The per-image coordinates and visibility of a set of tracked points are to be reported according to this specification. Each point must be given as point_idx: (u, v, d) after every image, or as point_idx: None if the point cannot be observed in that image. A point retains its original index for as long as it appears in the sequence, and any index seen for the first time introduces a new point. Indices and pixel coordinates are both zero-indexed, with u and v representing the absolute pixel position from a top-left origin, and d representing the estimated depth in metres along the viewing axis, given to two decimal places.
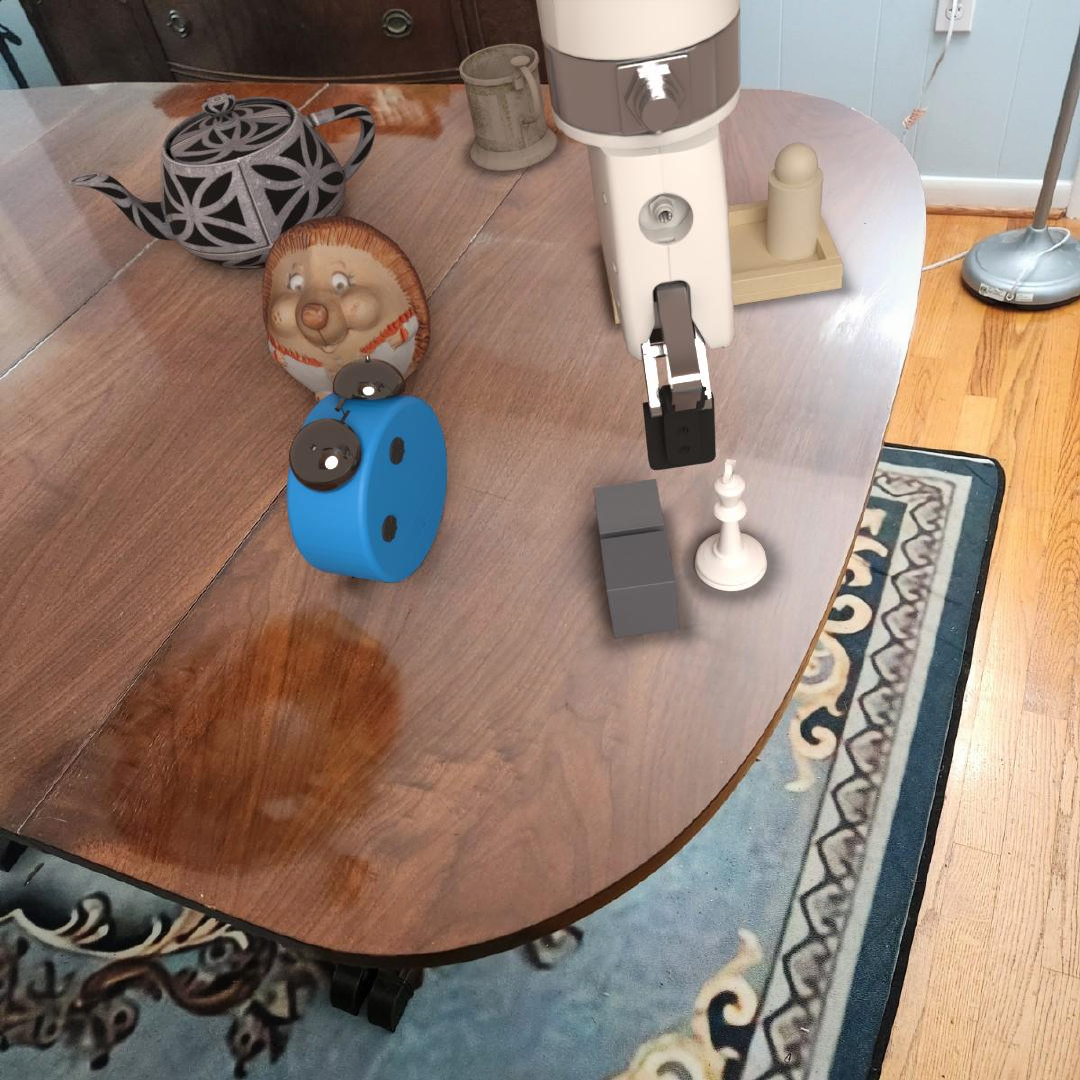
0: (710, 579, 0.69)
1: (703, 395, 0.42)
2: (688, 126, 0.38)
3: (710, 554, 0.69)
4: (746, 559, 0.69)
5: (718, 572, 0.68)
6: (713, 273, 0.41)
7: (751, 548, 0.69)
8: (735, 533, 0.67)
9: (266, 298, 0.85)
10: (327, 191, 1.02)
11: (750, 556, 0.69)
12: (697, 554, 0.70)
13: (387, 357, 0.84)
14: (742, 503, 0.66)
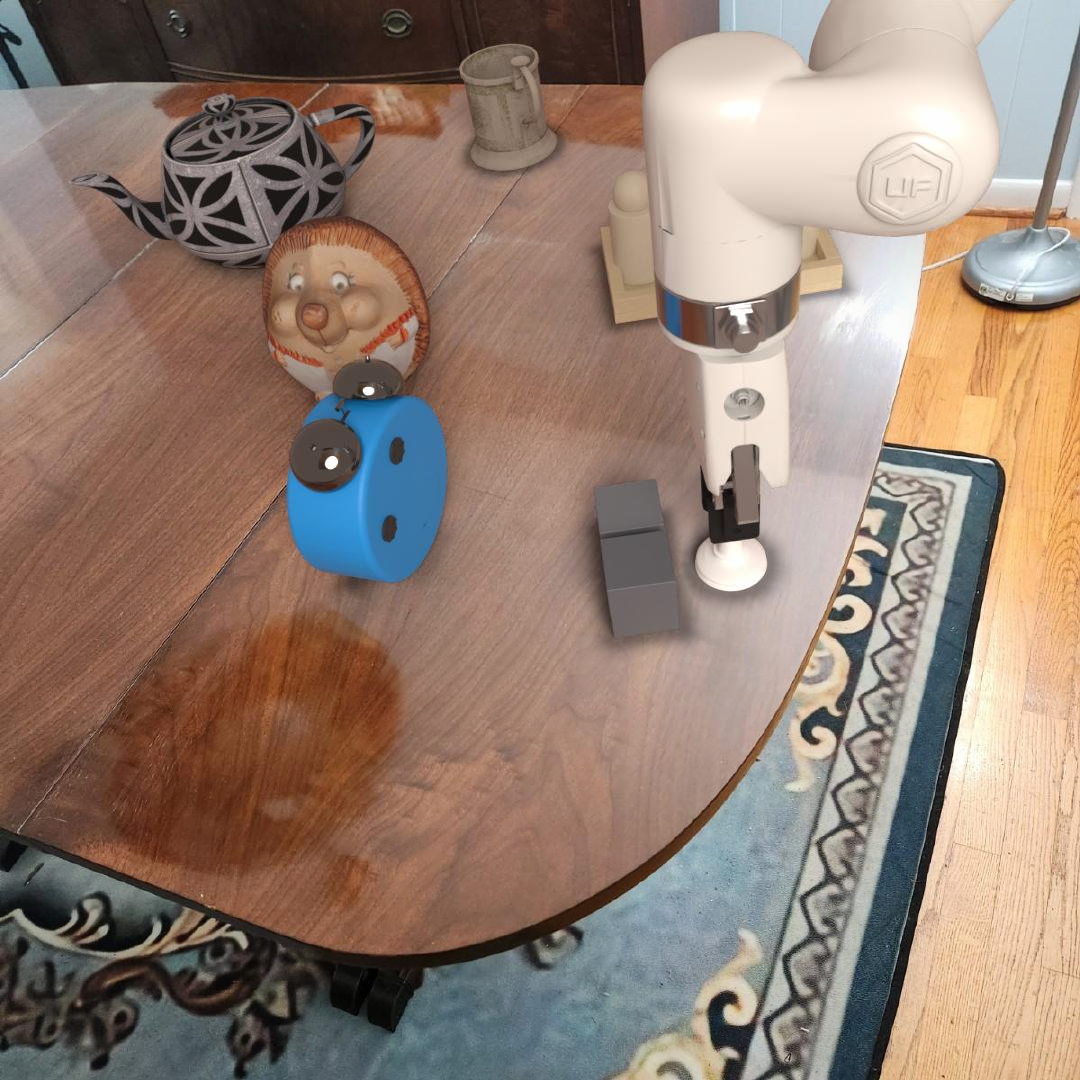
0: (710, 579, 0.69)
1: None
2: (763, 342, 0.51)
3: (710, 554, 0.69)
4: (746, 559, 0.69)
5: (718, 572, 0.68)
6: (777, 439, 0.55)
7: (751, 548, 0.69)
8: None
9: (266, 298, 0.85)
10: (327, 191, 1.02)
11: (750, 556, 0.69)
12: (697, 554, 0.70)
13: (387, 357, 0.84)
14: None
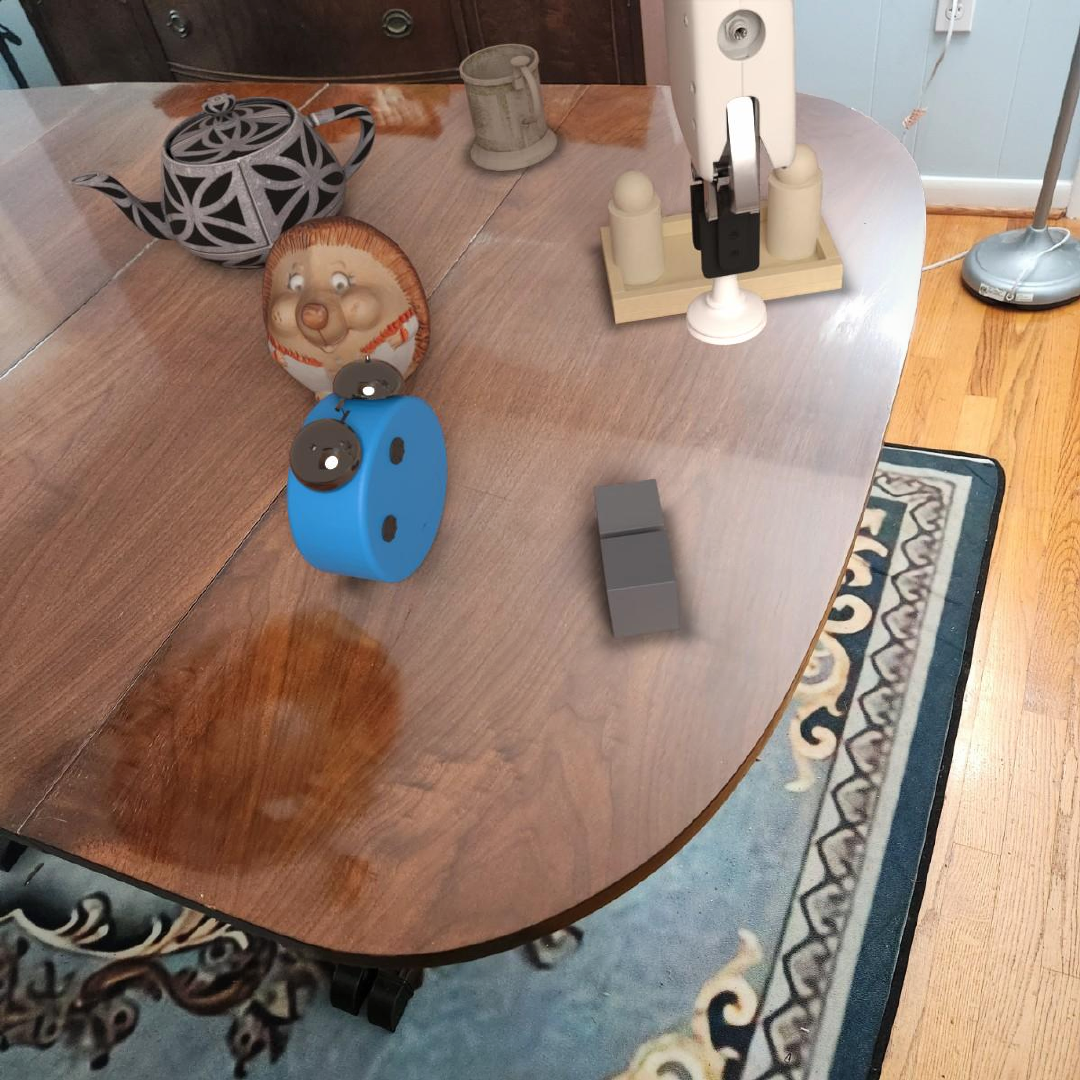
0: (703, 332, 0.60)
1: None
2: None
3: (702, 307, 0.61)
4: (744, 309, 0.60)
5: (712, 324, 0.60)
6: (780, 89, 0.46)
7: (749, 299, 0.61)
8: None
9: (266, 298, 0.85)
10: (327, 191, 1.02)
11: (748, 306, 0.60)
12: (688, 310, 0.62)
13: (387, 357, 0.84)
14: None
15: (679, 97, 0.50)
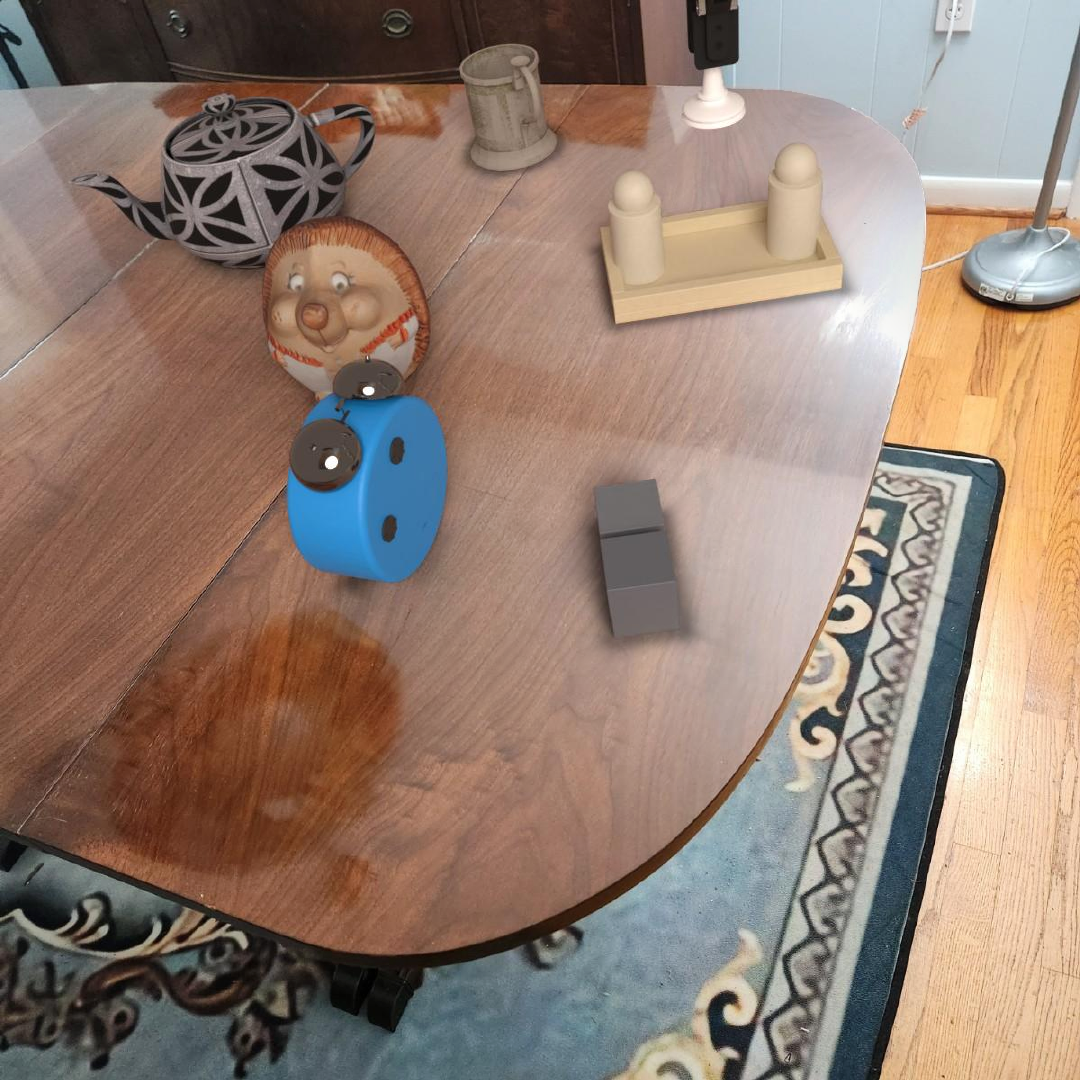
0: (695, 119, 0.77)
1: None
2: None
3: (695, 102, 0.78)
4: (727, 101, 0.77)
5: (702, 112, 0.77)
6: None
7: (731, 95, 0.78)
8: (716, 68, 0.75)
9: (266, 298, 0.85)
10: (327, 191, 1.02)
11: (730, 99, 0.77)
12: (683, 105, 0.79)
13: (387, 357, 0.84)
14: None
15: None
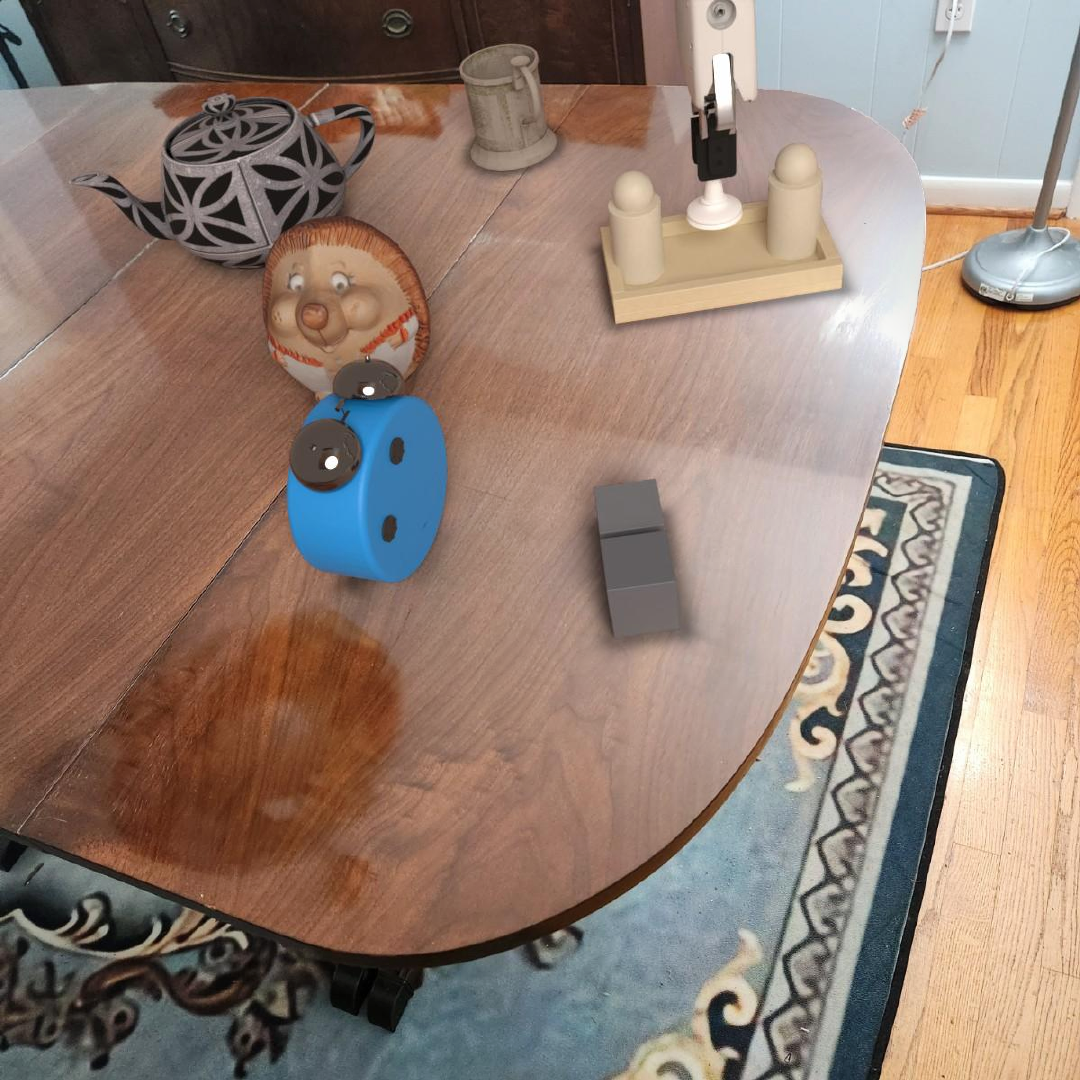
0: (698, 221, 0.87)
1: None
2: None
3: (698, 205, 0.88)
4: (726, 205, 0.87)
5: (704, 215, 0.87)
6: (746, 48, 0.73)
7: (730, 199, 0.88)
8: None
9: (266, 298, 0.85)
10: (327, 191, 1.02)
11: (729, 204, 0.88)
12: (688, 207, 0.89)
13: (387, 357, 0.84)
14: None
15: (683, 54, 0.77)
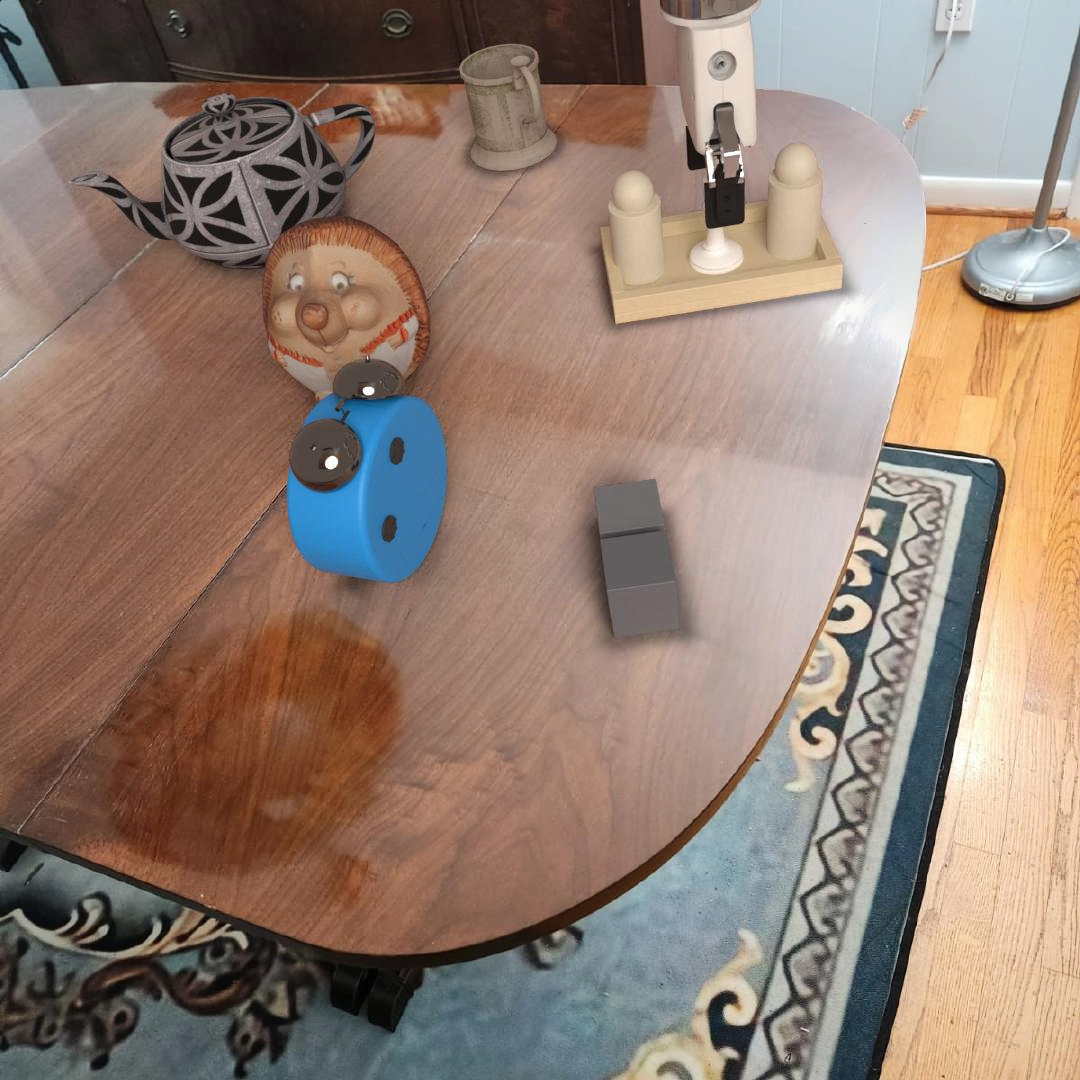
0: (700, 266, 0.91)
1: (740, 167, 0.78)
2: (734, 14, 0.73)
3: (700, 250, 0.92)
4: (727, 251, 0.91)
5: (706, 260, 0.91)
6: (746, 98, 0.76)
7: (731, 245, 0.91)
8: None
9: (266, 298, 0.85)
10: (327, 191, 1.02)
11: (730, 249, 0.91)
12: (690, 252, 0.92)
13: (387, 357, 0.84)
14: None
15: (685, 102, 0.80)
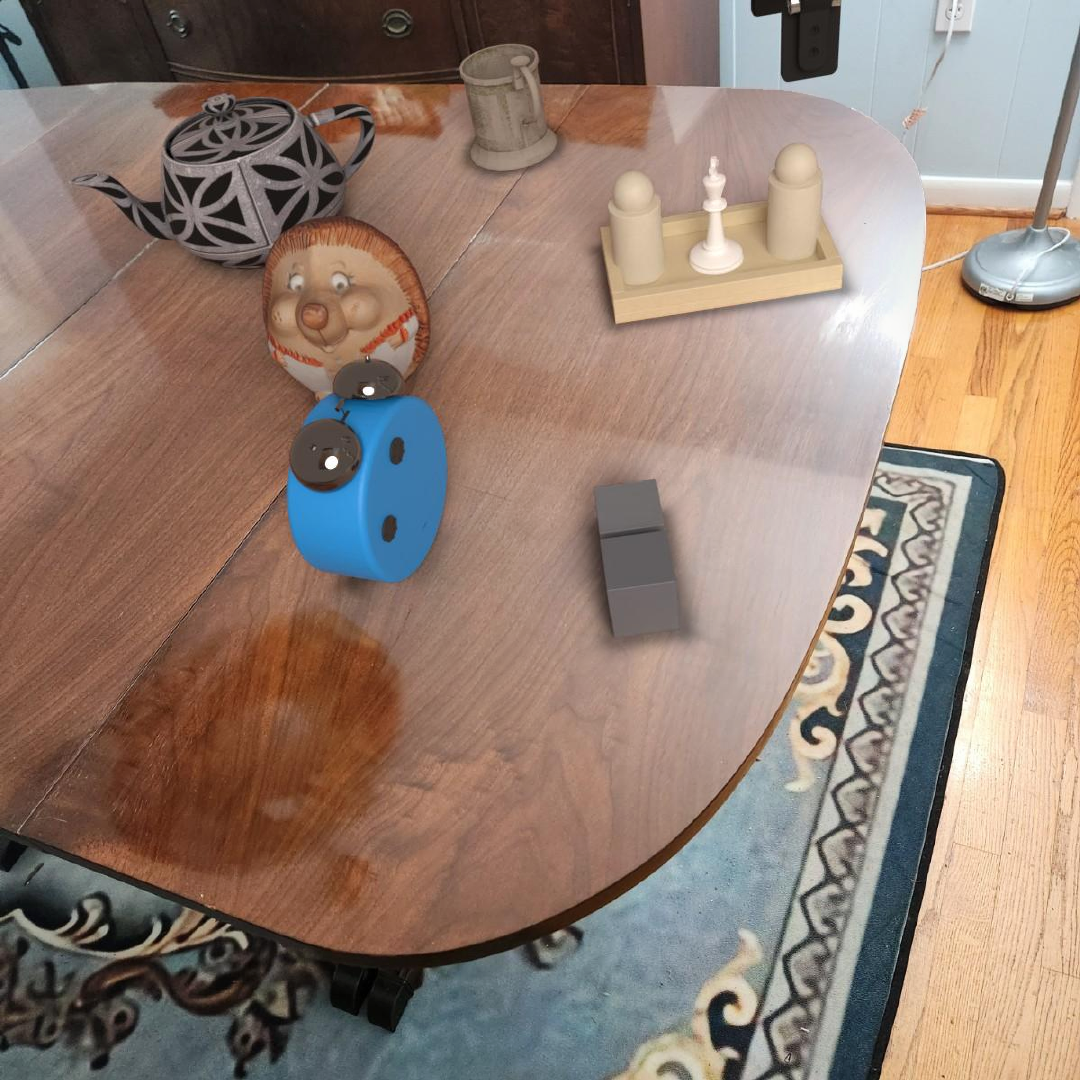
0: (700, 266, 0.91)
1: None
2: None
3: (700, 250, 0.92)
4: (727, 251, 0.91)
5: (706, 260, 0.91)
6: None
7: (731, 245, 0.91)
8: (719, 225, 0.89)
9: (266, 298, 0.85)
10: (327, 191, 1.02)
11: (730, 249, 0.91)
12: (690, 252, 0.92)
13: (387, 357, 0.84)
14: (724, 199, 0.88)
15: None
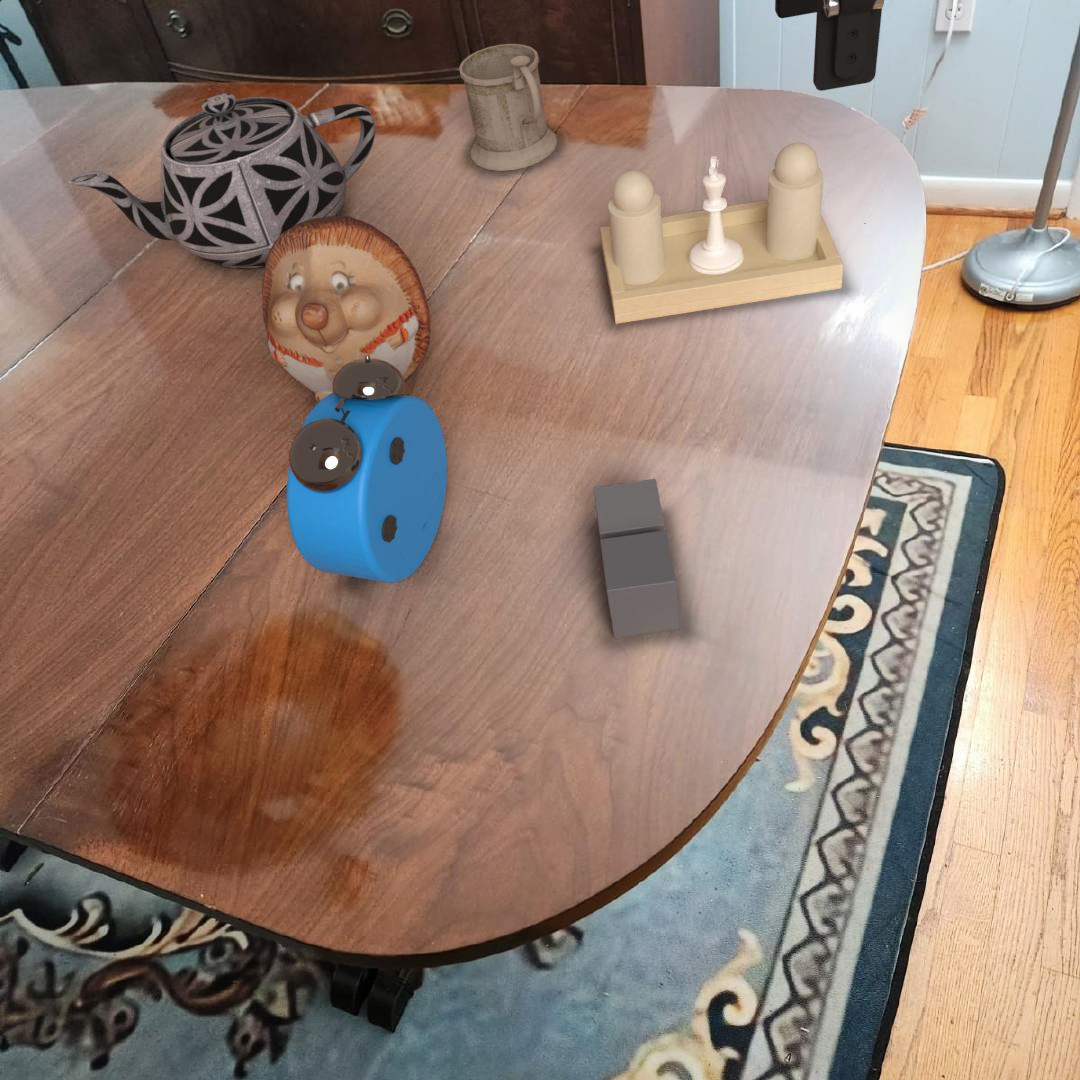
0: (700, 266, 0.91)
1: None
2: None
3: (700, 250, 0.92)
4: (727, 251, 0.91)
5: (706, 260, 0.91)
6: None
7: (731, 245, 0.91)
8: (719, 225, 0.89)
9: (266, 298, 0.85)
10: (327, 191, 1.02)
11: (730, 249, 0.91)
12: (690, 252, 0.92)
13: (387, 357, 0.84)
14: (724, 199, 0.88)
15: None
